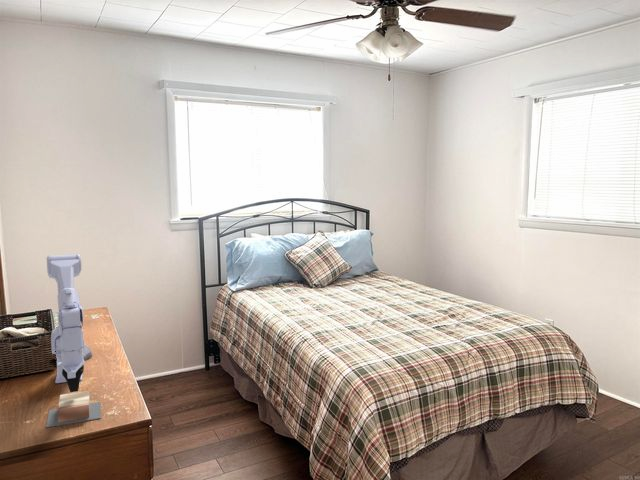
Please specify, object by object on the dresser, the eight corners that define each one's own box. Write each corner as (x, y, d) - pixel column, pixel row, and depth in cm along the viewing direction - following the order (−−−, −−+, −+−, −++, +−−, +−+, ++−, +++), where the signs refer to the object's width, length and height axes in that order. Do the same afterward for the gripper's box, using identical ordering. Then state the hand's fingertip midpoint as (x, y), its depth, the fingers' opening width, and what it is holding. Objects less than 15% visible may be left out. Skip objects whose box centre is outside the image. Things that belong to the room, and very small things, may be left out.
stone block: (95, 361, 183) (82, 349, 188) (95, 350, 181) (82, 339, 187) (63, 372, 173) (50, 359, 179) (63, 361, 172) (50, 348, 177)
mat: (49, 410, 143) (49, 409, 143) (100, 402, 148) (100, 401, 148) (45, 428, 134) (45, 427, 134) (100, 418, 139) (100, 417, 139)
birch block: (60, 394, 144) (57, 409, 136) (89, 390, 147) (88, 404, 139) (61, 407, 144) (58, 422, 136) (90, 402, 148) (89, 417, 139)
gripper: (58, 340, 145) (61, 382, 147) (54, 359, 132) (56, 404, 134) (84, 338, 148) (86, 379, 150) (82, 355, 135) (84, 400, 137)
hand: (74, 390), depth 142 cm, fingers closed
